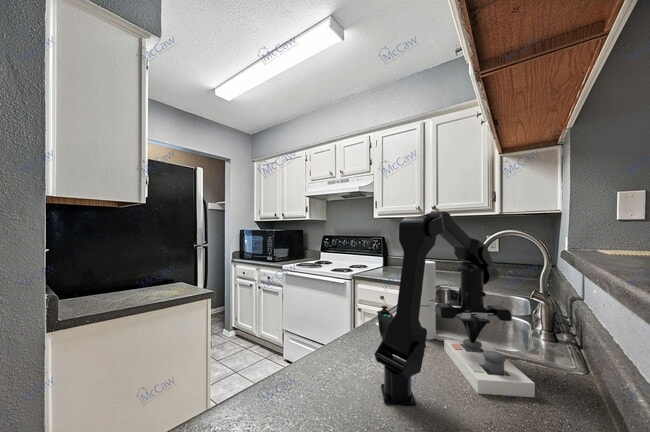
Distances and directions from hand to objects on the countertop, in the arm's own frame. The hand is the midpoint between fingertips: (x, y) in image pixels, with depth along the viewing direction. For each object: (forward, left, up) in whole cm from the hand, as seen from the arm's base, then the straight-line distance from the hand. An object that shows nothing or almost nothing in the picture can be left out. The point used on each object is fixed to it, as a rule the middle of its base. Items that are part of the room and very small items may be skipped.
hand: (472, 342), depth 79 cm
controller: (+10, +22, -5) cm, 25 cm away
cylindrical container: (+16, +9, -5) cm, 19 cm away
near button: (-12, 0, -3) cm, 12 cm away
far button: (0, 0, -5) cm, 5 cm away
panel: (-6, 0, -5) cm, 8 cm away
